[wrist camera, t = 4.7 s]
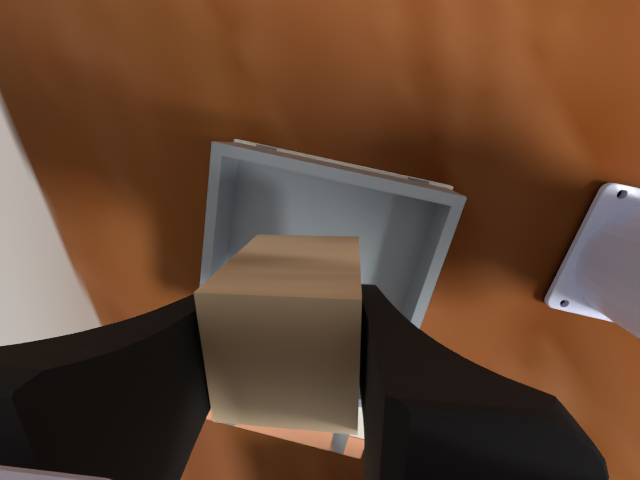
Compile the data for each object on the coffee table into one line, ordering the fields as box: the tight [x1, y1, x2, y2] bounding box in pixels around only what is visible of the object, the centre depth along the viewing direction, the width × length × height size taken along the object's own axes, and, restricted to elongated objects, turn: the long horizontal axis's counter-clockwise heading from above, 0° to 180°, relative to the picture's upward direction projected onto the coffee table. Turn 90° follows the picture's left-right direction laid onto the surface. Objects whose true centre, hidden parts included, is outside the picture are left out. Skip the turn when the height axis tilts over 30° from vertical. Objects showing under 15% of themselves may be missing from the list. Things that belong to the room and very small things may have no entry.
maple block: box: [194, 234, 362, 435], centre depth 10 cm, size 4×4×5 cm
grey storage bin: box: [200, 141, 467, 408], centre depth 17 cm, size 11×12×5 cm
